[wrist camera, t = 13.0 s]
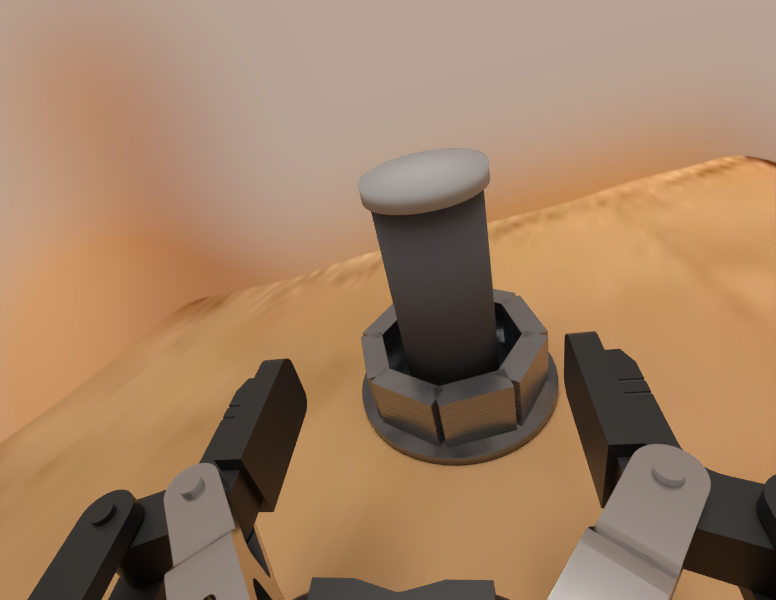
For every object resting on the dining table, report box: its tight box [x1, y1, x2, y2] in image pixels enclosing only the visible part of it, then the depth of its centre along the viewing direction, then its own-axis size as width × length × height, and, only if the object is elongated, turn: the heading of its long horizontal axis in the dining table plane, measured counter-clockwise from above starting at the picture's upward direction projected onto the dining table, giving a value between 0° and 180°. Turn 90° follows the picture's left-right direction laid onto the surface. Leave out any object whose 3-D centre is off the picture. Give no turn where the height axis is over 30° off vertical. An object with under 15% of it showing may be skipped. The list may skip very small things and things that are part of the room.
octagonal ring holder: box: [361, 289, 558, 465], centre depth 25 cm, size 11×11×4 cm
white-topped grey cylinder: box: [358, 148, 500, 386], centre depth 22 cm, size 6×6×12 cm
